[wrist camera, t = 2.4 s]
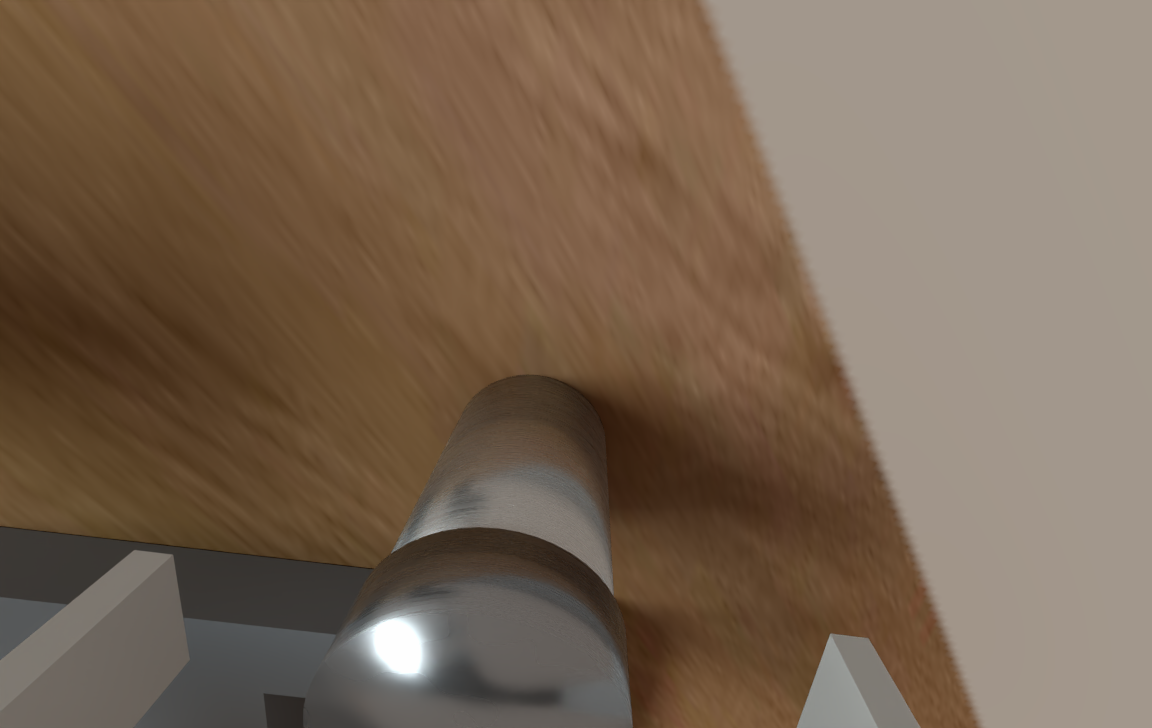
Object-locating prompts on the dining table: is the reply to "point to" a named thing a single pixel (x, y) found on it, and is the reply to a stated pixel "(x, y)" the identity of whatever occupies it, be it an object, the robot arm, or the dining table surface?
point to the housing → (198, 621)
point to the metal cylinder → (492, 584)
